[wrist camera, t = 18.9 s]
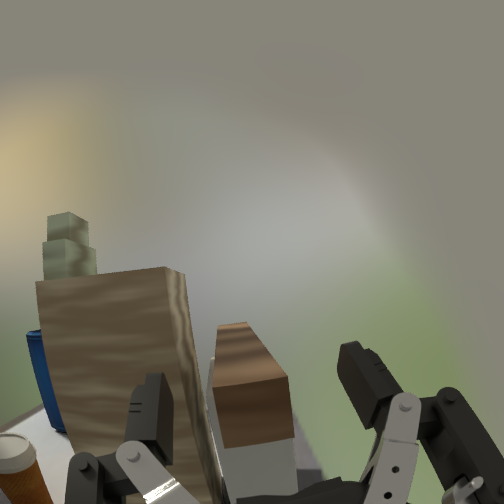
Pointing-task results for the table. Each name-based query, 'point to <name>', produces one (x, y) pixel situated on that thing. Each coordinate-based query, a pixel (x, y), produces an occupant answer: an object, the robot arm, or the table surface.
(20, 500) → the disposable coffee cup
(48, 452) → the table surface
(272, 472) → the grey rectangular block
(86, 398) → the birch rack
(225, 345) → the walnut block
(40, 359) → the book
